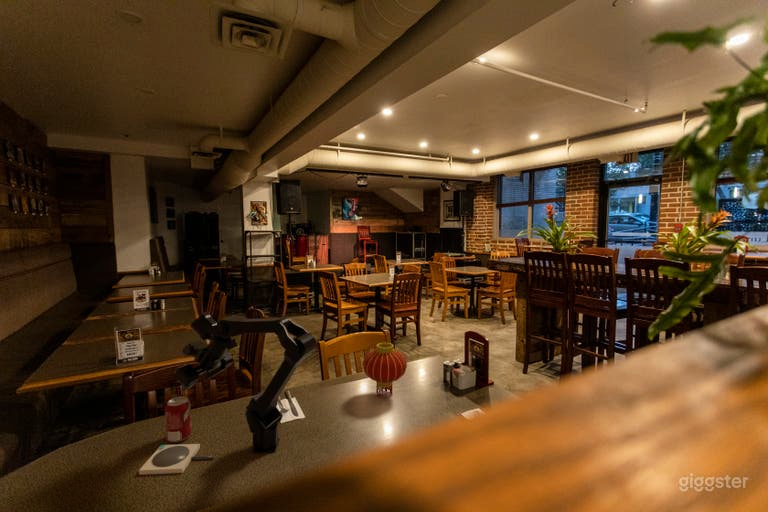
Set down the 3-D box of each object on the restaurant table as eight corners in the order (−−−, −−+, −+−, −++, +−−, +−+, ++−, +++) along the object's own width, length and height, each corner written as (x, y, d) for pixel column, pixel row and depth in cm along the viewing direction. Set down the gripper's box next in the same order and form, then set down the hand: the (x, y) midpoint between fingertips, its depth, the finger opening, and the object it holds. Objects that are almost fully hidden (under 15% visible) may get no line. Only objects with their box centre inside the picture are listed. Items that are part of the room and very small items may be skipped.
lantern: (407, 406, 134) (409, 326, 132) (360, 405, 134) (361, 326, 132) (405, 385, 151) (406, 315, 148) (363, 385, 151) (364, 314, 149)
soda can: (180, 445, 109) (179, 407, 108) (161, 442, 110) (159, 404, 109) (196, 433, 115) (195, 396, 114) (177, 430, 117) (176, 394, 115)
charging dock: (220, 446, 108) (220, 442, 108) (205, 471, 97) (205, 466, 97) (161, 448, 107) (161, 444, 107) (139, 474, 96) (139, 469, 96)
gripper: (221, 324, 123) (201, 357, 127) (173, 341, 105) (152, 379, 109) (243, 346, 121) (223, 379, 125) (198, 367, 103) (175, 404, 107)
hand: (194, 384), depth 116 cm, fingers open, 9 cm apart
